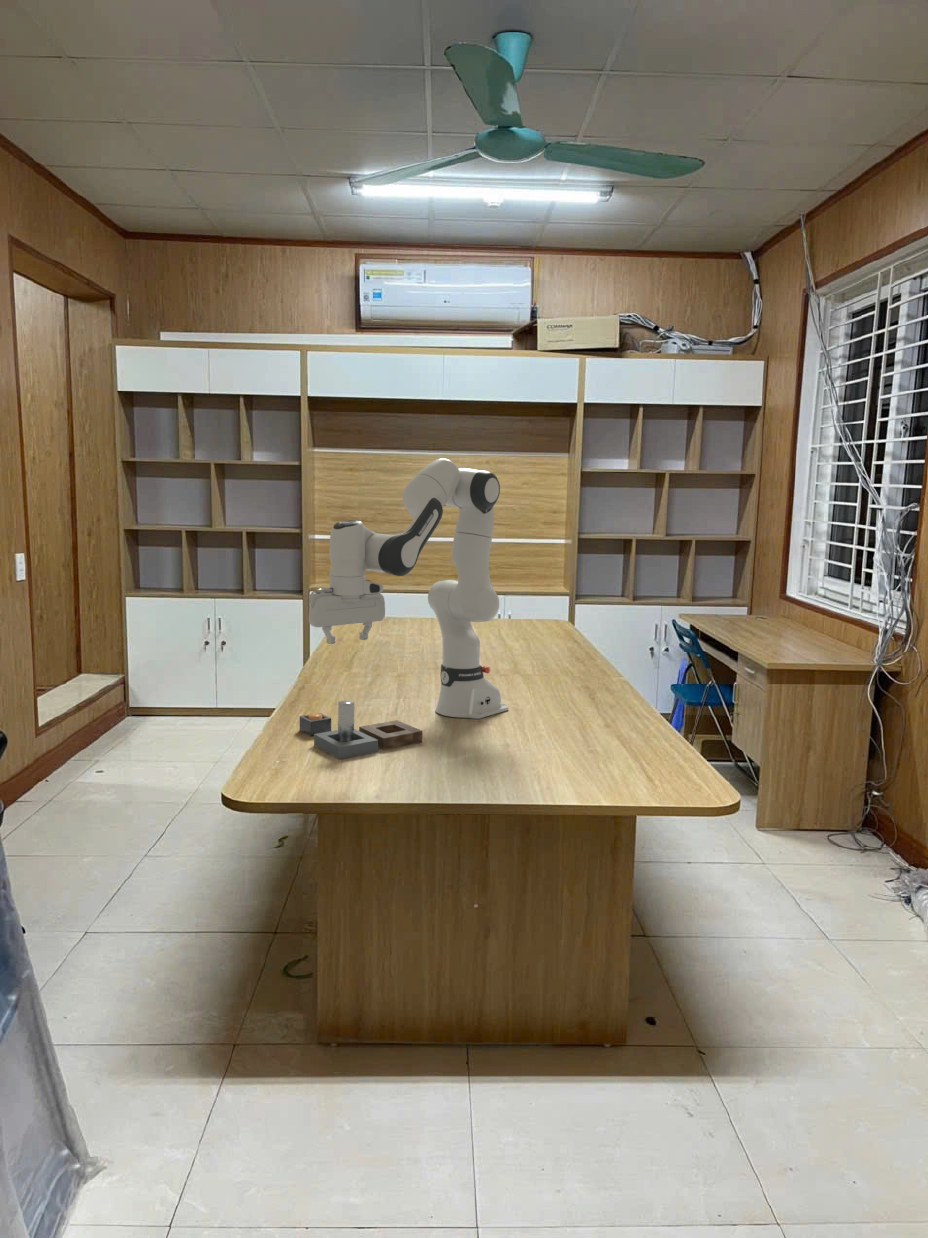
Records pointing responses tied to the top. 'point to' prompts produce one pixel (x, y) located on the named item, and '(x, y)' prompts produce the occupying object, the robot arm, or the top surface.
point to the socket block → (392, 734)
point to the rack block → (345, 744)
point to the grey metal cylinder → (345, 721)
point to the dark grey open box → (315, 725)
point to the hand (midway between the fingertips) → (347, 641)
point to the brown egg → (315, 716)
